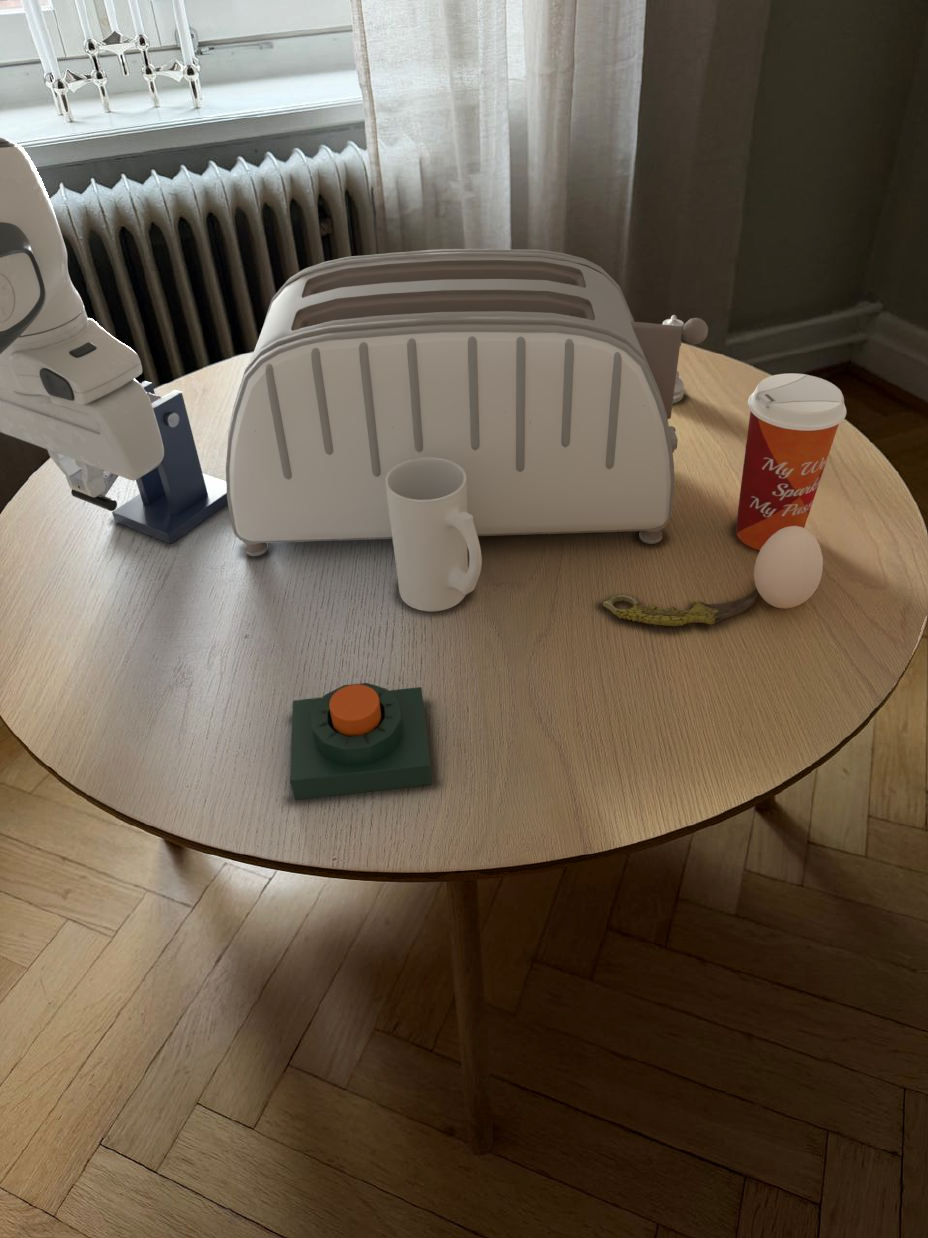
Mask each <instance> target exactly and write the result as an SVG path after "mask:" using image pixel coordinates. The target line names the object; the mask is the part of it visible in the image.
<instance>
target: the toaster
mask: <svg viewBox="0 0 928 1238" xmlns="http://www.w3.org/2000/svg"><path fill="white" fill-rule="evenodd" d="M708 334H709V327H708V325H707V322H705V320H703V319H702V318H700V317H692V318H689V319H688V320H687V321H686V322H685V323H684V325H683V327H681V326H674V325H663V323H652V322H651V323H650V322H642V321H635V319H634V317H633V315H632V312H631V310H630V307H629V306H628V303H627V301H626V298H625V296H624V293H623V291H622V289H621V287H620V285H619V284H618V283H617V281H616V280H614V279H613V278H612V276H611V275H609V273H607V272H606V271H605V270H604V268H603V267H601V266H600V265H598V264H596V263H594V262H593V261H590V260H588V259H586V258H583V257H579V256H575V255H572V254H568V253H565V252H559V251H551V250H545V249H544V250H543V249H510V248H509V249H508V248H507V249H505V248H504V249H503V248H501V249H496V248H439V249H427V250H426V249H425V250H412V251H402V252H401V251H400V252H399V251H398V252H388V253H378V254H377V253H376V254H365V255H354V256H345V257H340V258H337V259H332V260H327V261H323V262H321V263H317V264H315V265H312V266H309V267H306V268H304V269H302V270H300V271H299V272H297V273H296V274H294V275H293V276H291V277H289V278H288V279H287V280H286V281H285V283H283V285H282V286H281V287H280V288H279V289H278V291H277V292H276V293H275V294H274V296H273V297H272V298H271V300H270V304H269V307H268V310H267V313H266V316H265V319H264V322H263V326H262V328H261V332H260V333H259V337H258V339H257V342H256V345H255V348H254V351H253V353H252V356H251V358H250V361H249V363H248V364H247V365H246V366H245V368H244V371H243V375H242V377H241V380H240V383H239V387H238V390H237V393H236V396H235V398H234V403H233V406H232V411H231V417H230V422H229V426H228V431H227V432H228V435H227V444H226V445H227V446H226V459H225V460H226V461H225V481H226V488H227V500H228V503H227V505H228V513H229V518H230V523H231V527H232V531H233V534H234V535H235V537H236V538H238V539H239V541H242V542H243V543H244V544H245V545H244V547H243V550H244V552H245V554H246V555H247V556H250V557H259V556H262V555H264V554H265V553H266V552H267V551H268V543H271V544H272V543H273V544H274V543H302V542H303V543H305V542H306V543H307V542H333V541H336V542H337V541H364V540H365V541H366V540H368V541H369V540H393V539H392V531H391V523H390V516H389V508H388V500H387V490H386V484H385V479H386V476H387V474H388V472H389V471H390V470H391V469H392V468H393V467H395V466H396V465H398V464H400V463H402V462H404V461H407V460H411V459H415V458H423V457H434V458H442V459H446V460H449V461H452V462H454V463H456V464H458V465H459V466H460V467H461V468H462V469H463V470H464V471H465V473H466V487H467V513H468V514H470V515H472V516H473V522H474V526H475V529H476V532H477V536H478V537H493V536H496V537H497V536H525V535H529V536H530V535H557V534H558V535H560V534H589V533H592V534H593V533H619V532H639V533H638V535H639V537H638V538H639V539H640V541H641V542H642V543H645V544H648V545H654V544H655V545H656V544H659V542H661V541H662V539H663V532H662V530H663V529H664V528H665V527H667V525H668V524H669V523H670V521H671V520H672V515H673V508H674V493H675V465H674V452H675V450H677V448H678V437H677V433H676V431H677V430H676V427H674V426H672V425H669V420H670V419H671V418H672V412H673V404H674V403H673V397H674V389H675V381H676V373H677V371H678V366H679V365H678V363H679V357H680V349H681V346H680V342H681V343H682V338H683V341H685V342H686V343H687V344H688V345H692V346H695V345H700V344H702V342H704V341H705V340H706V338H707V337H708Z"/></svg>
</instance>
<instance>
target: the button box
mask: <svg viewBox="0 0 928 1238" xmlns="http://www.w3.org/2000/svg"><path fill="white" fill-rule="evenodd" d="M349 685H365V686H368V687H370V688H372V689H373V690H374V691H375V692H376V693H377V695H378V697H379V702H380V710H381V720H380V723H379V724H378V726H377V727H376V728H375V729H374V730H373V731H371V732H369V733H367V734H365V735H361V736H347V735H344V734H341V733H340V732H338V731H337V730H336V729H335V728H334V726H333V723H332V718H331V713H330V707H329V703H330V700H331V698H332V696H333V695H334V693H336V692H337V691H338V690H340V689H341V688H343V687H346V686H349ZM424 705H425V704H424V696H423V688H422V687H421V686H418V687H408V688H400V689H399V688H398V689H390V690H389V689H388V688H385V687H382V686H379V685H375V684H372V683H369V682H361V683H351V684H344V685H341V686H339V687H337V688H335V689H334V690H332V691H329V692H328V693H326V694H324V695H323V696H322V697H314V698H304V699H303V698H302V699H293V700H292V712H291V713H292V715H291V744H290V769H289V770H290V771H289V783H290V786H291V790H292V794H293V799H294V800H295V801H297V800H306V799H314V798H324V797H333V796H340V795H349V794H358V793H366V792H375V791H377V792H378V791H385V790H393V789H394V790H395V789H403V788H413V787H421V786H431V785H432V784H433V780H432V779H433V778H432V767H431V758H430V749H429V740H428V731H427V722H426V713H425V706H424Z"/></svg>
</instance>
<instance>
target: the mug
mask: <svg viewBox="0 0 928 1238" xmlns="http://www.w3.org/2000/svg"><path fill="white" fill-rule="evenodd" d="M385 484H386V490H387V500H388V508H389V516H390V523H391V531H392V539H391V540H392V545H393V552H394V561H395V570H396V577H397V584H398V592H399V596H400V598H401V600H402V601H403V602H404V603H405V604H406V605H407V606H409V607H410V608H413V609H415V610H418V611H422V612H428V613H429V612H441V611H446V610H449V609H452V608H453V607H455V606H457V605H458V604H460V603H461V602H462V601H463V600H464V598H465V597H466V595H468V594H470V593H471V592H474V590H475V589H476V586H477V584H478V581H479V578H480V575H481V571H482V563H483V562H482V561H483V558H482V549H481V545H480V544H481V543H480V541H479V536H477V532H476V529H475V526H474V522H473V516H472V515H470V514H468V513H467V487H466V473H465V471H464V470H463V469H462V468H461V467H460V466H459V465H458V464H456V463H454V462H452V461H449V460H446V459H442V458H434V457H423V458H415V459H411V460H407V461H404V462H402V463H400V464H398V465H396V466H395V467H393V468H392V469H391V470H390V471H389V472H388V474H387V476H386V479H385ZM468 556H469V558H468ZM468 559H469V561H468Z"/></svg>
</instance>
